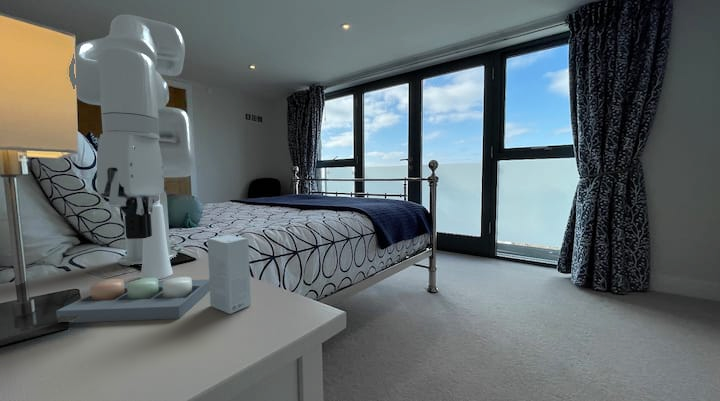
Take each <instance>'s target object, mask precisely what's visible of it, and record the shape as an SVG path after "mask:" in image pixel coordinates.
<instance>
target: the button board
mask: <svg viewBox="0 0 720 401" xmlns="http://www.w3.org/2000/svg"><path fill="white" fill-rule="evenodd" d="M164 281H165V280H158V288H159V293H158V294H157V295H155V296H154V297H151V298H148V299H137V300H128V294H127V284H128V283H130V282H131V281H124V290H125V294H124V295H122V296H120V297H118V298H116V299H113V300H108V301H92V298H91V293H90V294H89V295H86V296H84V297H82V298H80V299H78V300H75V301H73V302H72V303H70V304H68V305H65V306H63V307H61V308H59V309H57V310H56V311H55V313H56V318H57V317H60V316H78V317H79V318H77V319H75V320H73V321H71V322H70V323H69V324H75V323H79V324H80V323H99V322H125V321H126V322H127V321H129V322H130V321H151V320H153V321H155V320H171V319H172V320H175V319H176V320H177V319H181V318H182V316H184V315H185V314H186V313H187V312H188V311H189V310H190V309H191V308H192V307H194V306H195V305H196V304H197V303H198V302H199V301H200V300H201V299H202V298H204V297H205V296H206V295H207V294H208V293H210V284H209V279H192V293H191V294H190V295H188V296H186V297H183V298H165V299H164V298H163V285H162V283H163V282H164Z"/></svg>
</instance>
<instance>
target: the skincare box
mask: <svg viewBox="0 0 720 401" xmlns="http://www.w3.org/2000/svg"><path fill="white" fill-rule="evenodd" d="M249 251H250V250H249V238H247V237H240V236H235V235H231V234H228V235H227V234H226V235H221V236H216V237H210V238H207V257H208V258H207V259H208V260H207V262H208V280H209V284H210V291H209V301H210V306H211V307H213V308H215V309H217V310H220V311H222V312H224V313H226V314H228V315H231V314H234V313H236V312H238V311H240V310H243V309H245V308H248V307H250V306H251V304H252V300H251V298H252V297H251V276H250V271H251V270H250V252H249Z"/></svg>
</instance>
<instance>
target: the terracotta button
mask: <svg viewBox="0 0 720 401" xmlns="http://www.w3.org/2000/svg"><path fill="white" fill-rule="evenodd" d="M124 282H125V280H124V279H123V278H111V279H103V280H100V281H97V282H94V283H93V284H91V285H90V287H89V288H90V294H91V298H92V301H108V300H115V299H116V298H118V297H120V296H122V295H124V294H125V290H124Z"/></svg>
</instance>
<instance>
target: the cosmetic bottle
mask: <svg viewBox="0 0 720 401" xmlns="http://www.w3.org/2000/svg"><path fill="white" fill-rule="evenodd" d="M151 227H152V236H151V237H147V238H143V257H142V265H141V269H140V276H139V279H143V278H157V279H158V281H160V280H163V279H166V278H169V277H171V276H172V275H173V274H174V273H173V269H172V265H171V259H169V254H168V247H167V240H166V231H165V222H164V214H163V207H162V205H160V196H159V201H157V202H155V203H153V211H152V213H151Z"/></svg>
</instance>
